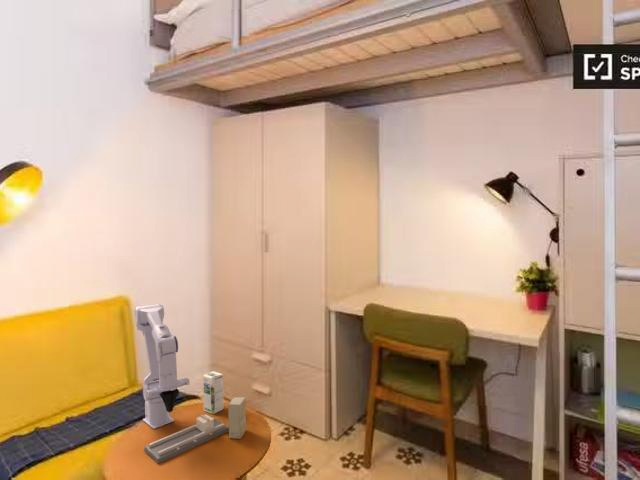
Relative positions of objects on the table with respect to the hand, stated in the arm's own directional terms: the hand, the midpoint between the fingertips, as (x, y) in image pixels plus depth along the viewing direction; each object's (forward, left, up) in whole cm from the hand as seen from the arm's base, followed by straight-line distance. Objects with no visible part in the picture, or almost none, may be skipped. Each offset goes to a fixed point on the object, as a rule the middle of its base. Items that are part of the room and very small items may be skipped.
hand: (169, 410), depth 142 cm
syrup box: (-8, +22, -11) cm, 26 cm away
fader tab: (+5, +10, -9) cm, 14 cm away
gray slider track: (+5, +4, -10) cm, 12 cm away
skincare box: (+14, +18, -11) cm, 25 cm away
